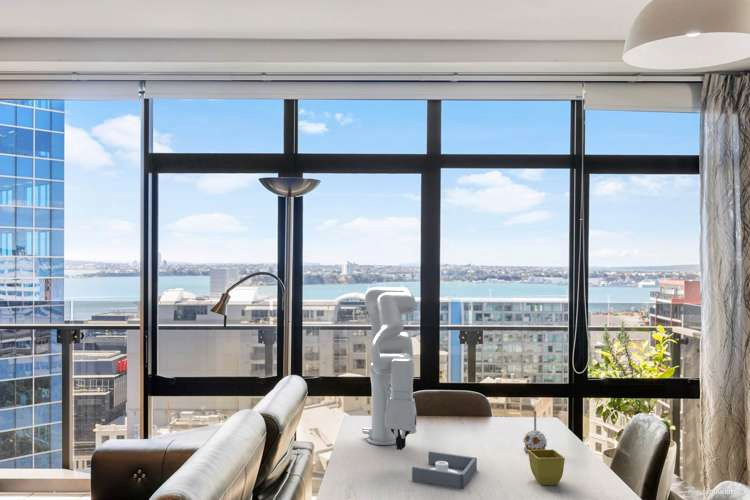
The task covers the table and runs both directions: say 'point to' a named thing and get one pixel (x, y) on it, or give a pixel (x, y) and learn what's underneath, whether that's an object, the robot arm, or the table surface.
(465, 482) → the box
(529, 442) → the decorative ornament
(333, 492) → the table surface
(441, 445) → the table surface
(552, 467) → the flower pot
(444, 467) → the candle holder
